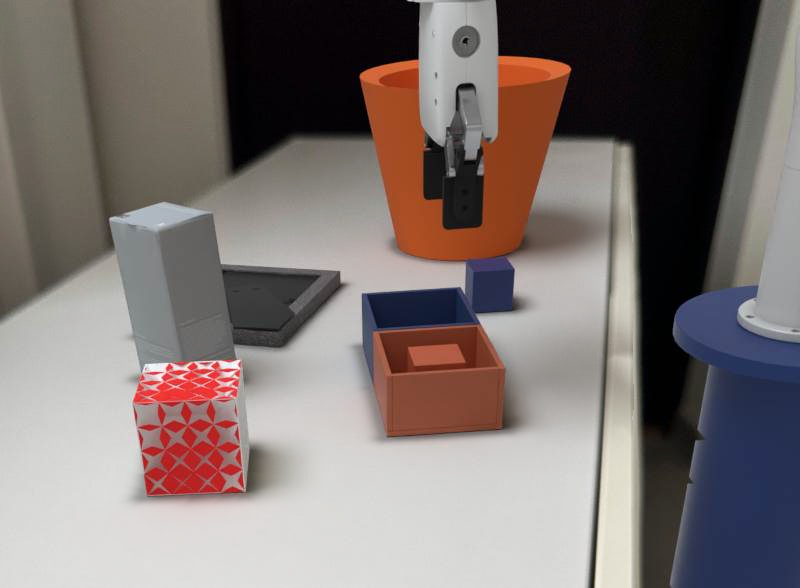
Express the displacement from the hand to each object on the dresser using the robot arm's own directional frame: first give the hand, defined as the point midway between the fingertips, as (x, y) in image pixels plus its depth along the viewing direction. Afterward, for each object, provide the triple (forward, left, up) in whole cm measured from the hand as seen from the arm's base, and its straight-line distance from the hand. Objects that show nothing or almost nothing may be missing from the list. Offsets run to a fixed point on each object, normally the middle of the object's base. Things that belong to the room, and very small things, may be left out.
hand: (451, 212), depth 89 cm
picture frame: (+19, -26, -16) cm, 36 cm away
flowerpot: (-9, -47, -16) cm, 51 cm away
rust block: (+2, +4, -15) cm, 16 cm away
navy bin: (+2, -7, -16) cm, 17 cm away
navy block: (-8, -22, -16) cm, 29 cm away
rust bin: (+2, +4, -16) cm, 16 cm away
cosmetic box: (+25, -6, -16) cm, 30 cm away
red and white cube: (+23, +14, -16) cm, 31 cm away
